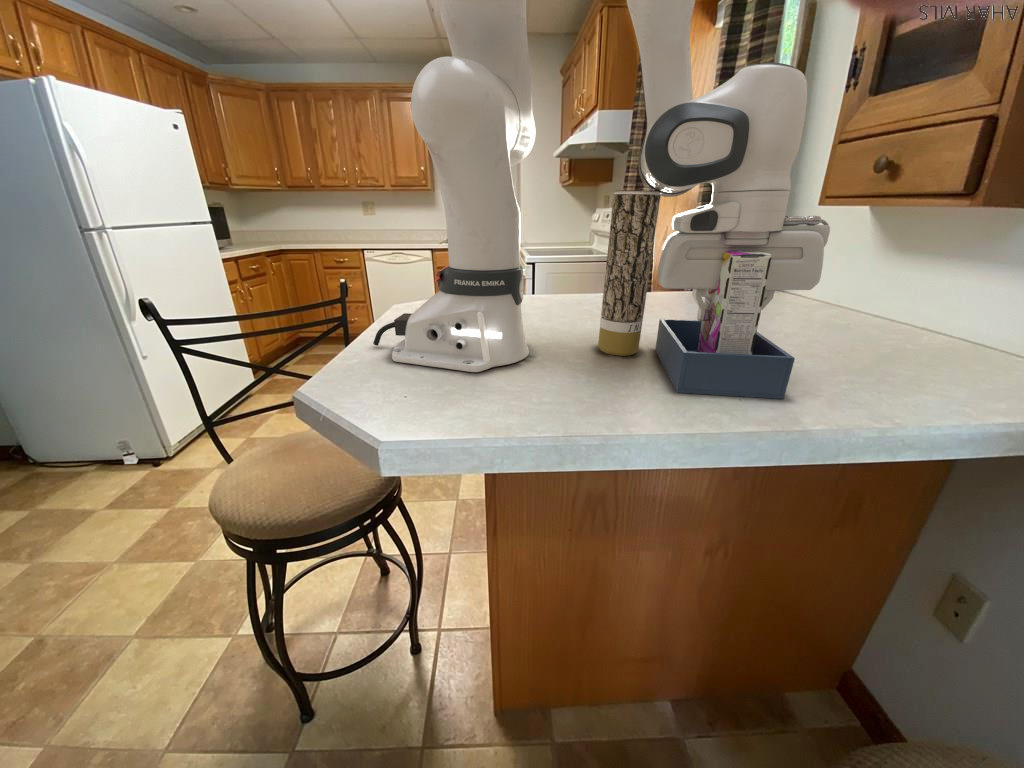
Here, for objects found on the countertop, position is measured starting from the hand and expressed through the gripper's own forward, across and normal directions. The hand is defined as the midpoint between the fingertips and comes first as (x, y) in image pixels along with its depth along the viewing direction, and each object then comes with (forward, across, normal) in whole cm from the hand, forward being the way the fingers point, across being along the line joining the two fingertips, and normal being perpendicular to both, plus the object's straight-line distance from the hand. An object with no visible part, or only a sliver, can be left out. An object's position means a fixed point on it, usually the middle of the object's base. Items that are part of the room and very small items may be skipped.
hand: (726, 320), depth 60 cm
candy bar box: (+7, 0, 0) cm, 7 cm away
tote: (+8, +1, 0) cm, 8 cm away
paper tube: (+8, +14, -8) cm, 18 cm away
